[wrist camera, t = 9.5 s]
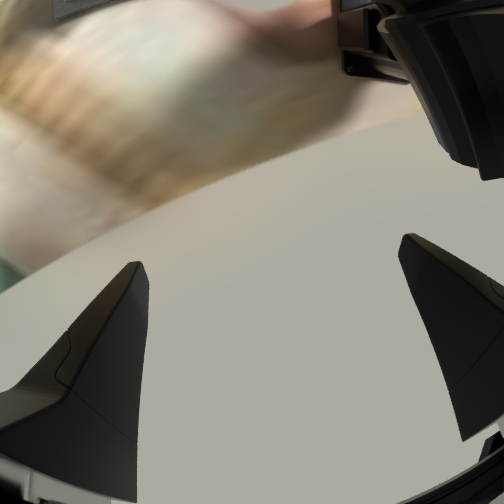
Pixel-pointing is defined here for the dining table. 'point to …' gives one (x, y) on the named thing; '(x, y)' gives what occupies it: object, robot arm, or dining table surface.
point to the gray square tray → (73, 7)
